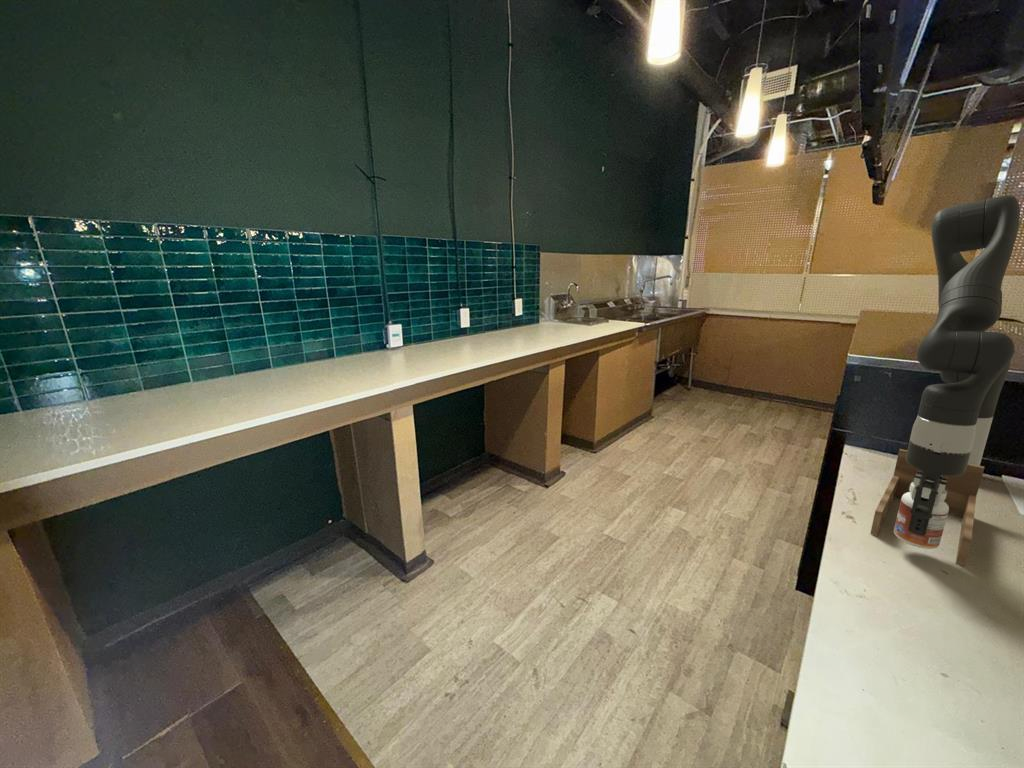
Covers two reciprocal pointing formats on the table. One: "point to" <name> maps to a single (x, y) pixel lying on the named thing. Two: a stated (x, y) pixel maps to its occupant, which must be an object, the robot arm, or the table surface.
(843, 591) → the table surface
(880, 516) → the open-sided box
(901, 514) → the pill bottle
